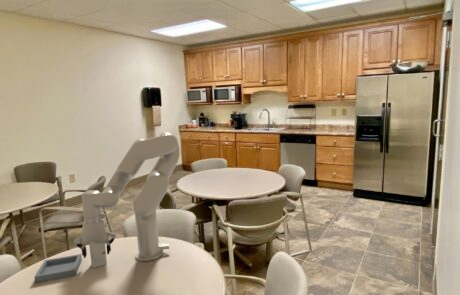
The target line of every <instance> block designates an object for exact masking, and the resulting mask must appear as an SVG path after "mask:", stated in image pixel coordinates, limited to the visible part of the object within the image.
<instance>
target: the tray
mask: <svg viewBox="0 0 460 295" xmlns="http://www.w3.org/2000/svg"><path fill="white" fill-rule="evenodd" d="M82 257H83V256H82V253H79V254H73V255H68V256H67V255H66V256H61V257H55V258H50V259H45V260H44V261H43V263H42V264H41V265H40V267H39V269H38V270H37V272H36V274H35V276H33V277H34V283H35V284H36V285H37V284H41V283H46V282H51V281H56V280H62V279H68V278H73V277H77V275H78V274H77V273H78V271H79V268H80V267H81V264H82V261H83V258H82Z"/></svg>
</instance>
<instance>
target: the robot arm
mask: <svg viewBox="0 0 460 295" xmlns="http://www.w3.org/2000/svg"><path fill="white" fill-rule="evenodd" d="M132 143H133V144H132V145H130V148H129V149H128V151H127V153H126V154H125V155H124V157H123V158H122V160H121V162H120V163H119V165H118V166H117V168H116V170H115V172H114V173H113V175H112V177H111V178H110V180H109V182H108V183H107V184H106V185H105V187H104V189H103V191H102V192H100V191H99V190H96V189H90V190H86V191H84V192H83V193H82V194H81V200H82V201H81V202H82V204H81V205H82V212H83V222H82V229H81V235H80V236H77V238H74V239H73V243H74V244H75V245H76V247H77V248H79V249H80V250H81V257H83V259H86V258H87V254H88V252H87V247H86V246H90V242H95V243H96V244H97V243H105V245H106V255H110V252H111V251H112V248H111V244H113V242H114V241H115V238H116V236H117V233H115V232H111V231H108V227H107V226H108V225H107V222H106V219H105V218H107V214H104V213H103V208H105V209H110V208H111V209H112V208H114V207H115V206H116V205H118V203H119V200H120V196H121V194H122V193H123V191H124V190H125V188H126V186H127V185H128V183H129V182H130V181H131V180H132V179H134V178H135V177H136V176H137V174H138V173H139V172H140V171H141V170H140V169H141V168H142V166H143V165H144V163H145V162H146V160H151V159H154V158H158V159H157V161H156V163H155V165H154V166H153V167H152V169H151V171H150V172H149V174H147V177H146V180H145V182H146V183H145V184H144V186H143V188H142V189H139V190H138V191H136V193H135V194H134V196H133V200H132V208H133V209H132V210H133V213H134V220H135V228H136V241H137V251H136V252H135V259H136V260H137V261H140V262H151V261H154V260H156V259H159V258H160V257H161V256H162V255H163V254H164V251H165V250H170V245H169V244H167V243H160V240H159V230H158V218H157V208H158V206H159V205H160V203H161V202H162V200H163V198H164V197H165V195H166V194H167V193H168V192H167V191H168V190H169V186H170V184H169V183H170V182H169V179H170V177H171V175H172V174H173V172H174V170H175V169H176V167H177V165H178V162H179V159H180V154H181V153H180V146H179V141H178V139H177V137H176V136H175V135H174V134H173V133H172V132H169V131H165V132H162V133H160V134H159V136H156V137H152V138H147V139H144V138H138V139H136V140H135V141H134V142H132ZM109 237H111V239H109ZM81 240H82V243H81V242H80V241H81Z"/></svg>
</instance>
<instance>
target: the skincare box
mask: <svg viewBox="0 0 460 295" xmlns="http://www.w3.org/2000/svg"><path fill="white" fill-rule="evenodd" d="M89 253H90V262H91V266H92V268H98V267H101V266H104V265H107V262H108V261H107V249H106V243H97V244H96V243H95V242H90V245H89Z"/></svg>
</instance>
